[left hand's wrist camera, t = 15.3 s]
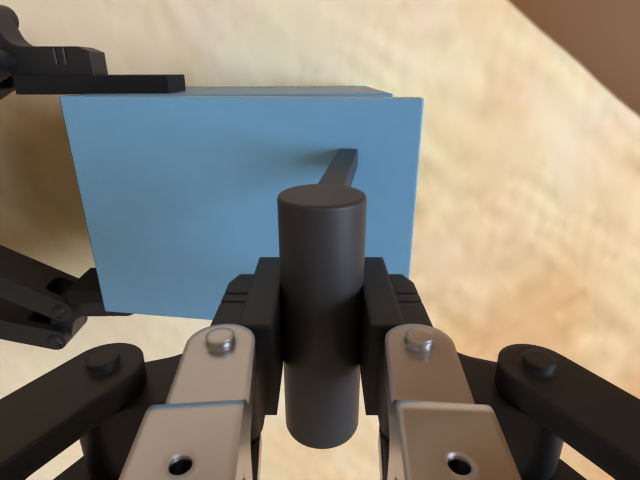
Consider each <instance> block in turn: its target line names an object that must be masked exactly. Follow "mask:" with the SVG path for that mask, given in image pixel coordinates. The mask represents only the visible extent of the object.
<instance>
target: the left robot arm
mask: <svg viewBox="0 0 640 480" xmlns="http://www.w3.org/2000/svg"><path fill="white" fill-rule="evenodd" d="M283 361H284V356H283V331H282V305H281V282H280V260H279V257H260V258H259V260H258V263H257V267H256V270H255V273H254V274H240V275H238V276H237V277H236V278H235V279H233V280H232V281H231V282H229V284H228V286H227V289H226V291H225V295H224V296H223V298H222V300H221V303H220V305H219V307H218V309H217V312H216V314H215V316H214V319H213V321H212V323H211V326H210V327H207V328H204V329H202V330H200V331H198V332H196V333H195V334H193V335H192V336H191V337H190V338H189V340H188V341H187V343H186V346H185V348H184V351H183V354H180V355H177V356H173V357H169V358H165V359H160V360H155V361H150V362H144V356H143V352H142V351H141V349H140V348H139V347H137V346H135V345H132V344H127V343H112V344H106V345H102V346H98V347H95V348H92V349H90V350H87V351H85V352H83V353H81V354H80V355H78V356H76V357H74V358H73V359H71V360H69V361H67V362H65V363H64V364H62V365H60V366H58V367H57V368H55V369H53V370H51V371H50V372H48V373H46V374H44V375H43V376H41V377H39V378H37V379H36V380H34V381H32V382H30V383H28V384H27V385H25V386H23V387H21V388H20V389H18V390H16V391H14V392H13V393H11V394H9V395H7V396H6V397H4V398H2V399H0V480H25V479H26V478H27V477H29V476H30V475H31V474H32V473H34V472H35V471H37V470H38V469H39V468H41V467H42V466H43V465H45V464H46V463H47V462H49V461H50V460H51V459H53V458H54V457H56V456H57V455H58V454H60V453H61V452H62V451H64V450H65V449H66V448H68V447H69V446H70V445H72V444H73V443H75V442H76V441H77V440H79V439H80V443H81V447H82V451H83V454H84V456H83V457H82V458H80V459H79V460H78V461H77V462H75V463H74V464H73V465H71V466H70V467H69V468H68V469H66V470H65V471H64V472H62V473H61V474H60V475H59V476H57V477H56V478H55V479H53V480H260V466H261V447H262V440H261V431H262V429H263V425H264V418H265V415H277V409H278V401H279V393H280V385H281V377H282V369H283ZM359 366H360V373H361V381H362V388H363V396H364V403H365V411H366V415H378V418H379V424H380V425H379V441H378V447H379V466H380V480H587V479H585V478H584V477H583V476H581V475H580V474H579V473H578V472H576V471H575V470H574V469H572V468H571V467H570V466H569V465H567V464H566V463H565V462H563V461H562V460H561V459H560V454H561V450H562V446H563V443H564V442H565V443H567V444H568V445H570V446H571V447H572V448H574V449H575V450H576V451H578V452H579V453H580V454H582V455H583V456H584V457H586V458H587V459H589V460H590V461H591V462H593V463H594V464H595V465H597V466H598V467H599V468H601V469H602V470H603V471H605V472H606V473H608V474H609V475H610V476H612V477H613V478H614V479H615V480H640V399H638V398H636V397H634V396H633V395H631V394H629V393H627V392H626V391H624V390H622V389H620V388H619V387H617V386H615V385H613V384H612V383H610V382H608V381H606V380H605V379H603V378H601V377H599V376H597V375H596V374H594V373H592V372H590V371H589V370H587V369H585V368H583V367H582V366H580V365H578V364H576V363H575V362H573V361H571V360H569V359H567V358H566V357H564V356H562V355H560V354H558V353H556V352H554V351H552V350H550V349H547V348H544V347H540V346H536V345H530V344H515V345H510V346H507V347H505V348H503V349H502V350H501V351H500V353H499V355H498V361H497V362H493V361H488V360H483V359H478V358H473V357H469V356H466V355H463V354H460V353H458V352H457V351H456V348H455V345H454V343H453V341H452V340H451V338H450V337H449V336H448V335H447V334H445V333H444V332H442V331H440V330H438V329H436V328H433V326H432V324H431V321H430V319H429V317H428V315H427V312H426V310H425V308H424V306H423V303H422V302H421V299H420V297H419V295H418V292H417V290H416V288H415V285H414V283H413V282H412V281H410V280H409V279H408V278H406V277H405V276H404V275H402V274H388V271H387V268H386V265H385V262H384V259H383V257H365V261H364V282H363V286H362V310H361V335H360V360H359Z"/></svg>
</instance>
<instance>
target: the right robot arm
mask: <svg viewBox="0 0 640 480" xmlns="http://www.w3.org/2000/svg"><path fill="white" fill-rule="evenodd" d="M18 28H19V21H18V17H17V15H16V14H15V12H14V11H13V10H12V9H10V8H9V7H6V6H3V5H0V100H1V99H2V98H4V97H5V96H7V95H8V94H10V93H11V92H13V91H14V90H16V93H17V94H119V93H174V92H180V91H186V88H185V79H184V75H108V72H107V66H106V60H105V54H104V52H101V51H99V50H96V49H94V48H87V47H34V46H32V45H30V44H29V43H28V42H27V41H26V40H25V39H24V38H23V36H22V35H21V33H20V31H19V30H18ZM132 314H134V313H122V312H110V311H105V307H104V303H103V298H102V293H101V289H100V284H99V279H98V275H97V270H96V268H90V269H89V270H88V271H87V272H86V273H85V274H84V275H82V276H81V277H80V278H76V277H74V276H72V275H69V274H67V273H64V272H62V271H60V270H57V269H55V268H53V267H50V266H48V265H46V264H43V263H41V262H39V261H36V260H34V259H32V258H29V257H27V256H25V255H22V254H20V253H18V252H15V251H13V250H10V249H8V248H6V247H3V246H1V245H0V339H3V340H8V341H13V342H19V343H24V344H29V345H34V346H39V347H44V348H49V349H55V350H59V349H62V348H63V347H65V346H66V344H67V343H68V342H69V341H70V340H71V339H72V338H73V336H74V335H75V334H76V333H77V332H78V331H79V330H80V329H81V327H82V326H83V325H84V324H85V323H86V322H87V316H110V315H111V316H117V315H118V316H129V315H132Z"/></svg>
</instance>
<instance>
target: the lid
mask: <svg viewBox="0 0 640 480" xmlns="http://www.w3.org/2000/svg"><path fill="white" fill-rule="evenodd" d="M60 102H61V106H62V111H63V116H64V120H65V125H66V130H67V134H68V139H69V144H70V148H71V153H72V158H73V162H74V167H75V172H76V176H77V181H78V186H79V190H80V195H81V200H82V204H83V209H84V214H85V218H86V223H87V228H88V232H89V237H90V242H91V247H92V251H93V256H94V261H95V265H96V270H97V275H98V279H99V284H100V289H101V293H102V298H103V303H104V307H105V311H110V312H122V313H134V314H147V315H159V316H171V317H183V318H196V319H208V320H213V319H214V316H215V314H216V312H217V309H218V307H219V305H220V303H221V300H222V298H223V296H224V295H225V291H226V289H227V286H228V284H229V282H231V281H232V280H233V279H235V278H236V277H237V276H238V275H240V274H254V273H255V270H256V267H257V263H258V260H259V258H260V257H279V260H280V282H281V305H282V331H283V356H284V384H285V409H286V425H287V428H288V430H289V432H290V434H291V435H292V437H293V438H294V439H295V440H297V441H298V442H299V443H301V444H303V445H305V446H308V447H311V448H316V449H328V448H333V447H337V446H339V445H341V444H343V443H345V442H346V441H348V440H349V439H350V438H351V437H352V435H353V434H354V433H355V431H356V429H357V426H358V412H359V387H360V366H359V360H360V335H361V310H362V286H363V282H364V261H365V257H383V259H384V262H385V265H386V268H387V271H388V274H402V275H404V276H405V277H406V278H408V279H409V273H410V261H411V249H412V237H413V225H414V213H415V200H416V188H417V176H418V164H419V152H420V140H421V128H422V116H423V104H424V99H423V98H421V97H290V96H136V95H70V96H60Z"/></svg>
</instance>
